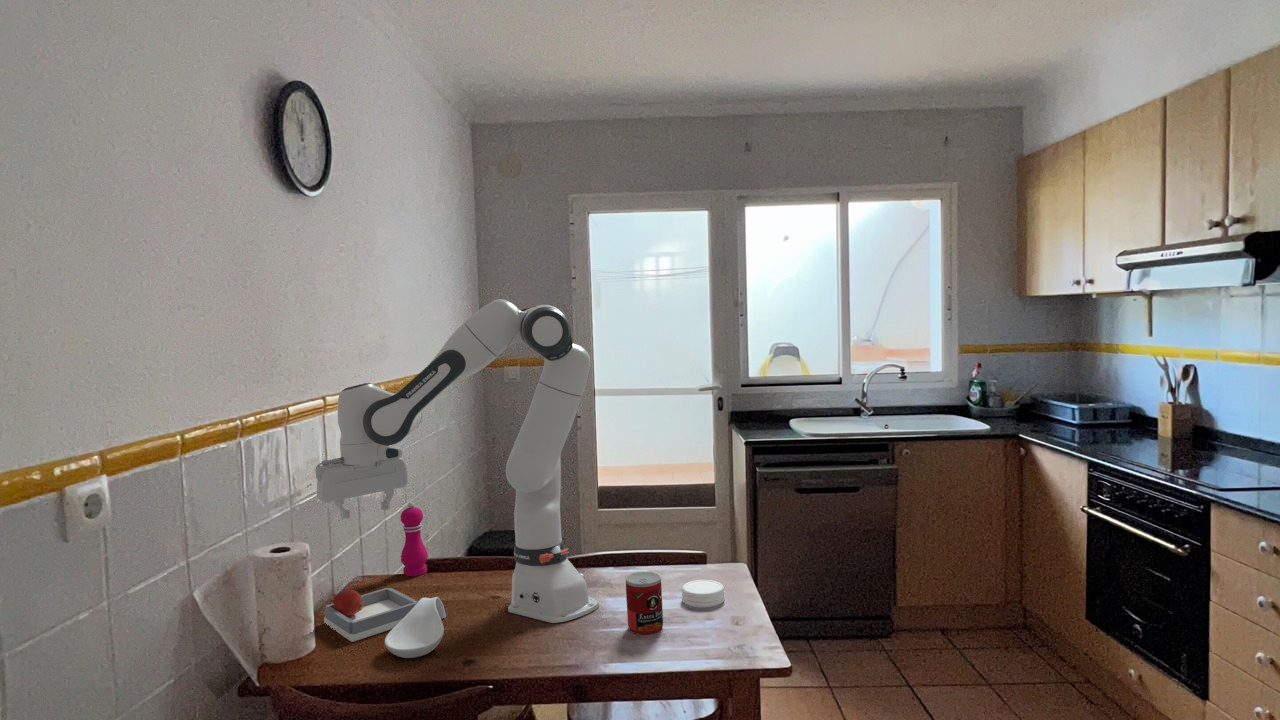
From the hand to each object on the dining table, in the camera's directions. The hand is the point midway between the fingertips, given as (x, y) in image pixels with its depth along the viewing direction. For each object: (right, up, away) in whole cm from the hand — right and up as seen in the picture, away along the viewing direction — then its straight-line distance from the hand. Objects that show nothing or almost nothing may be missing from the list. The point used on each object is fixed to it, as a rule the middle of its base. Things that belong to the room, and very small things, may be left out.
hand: (366, 513), depth 166 cm
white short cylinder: (+78, -22, +4) cm, 81 cm away
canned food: (+65, -23, -11) cm, 69 cm away
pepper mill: (+1, -24, +35) cm, 42 cm away
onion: (-1, -22, 0) cm, 22 cm away
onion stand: (+1, -25, +1) cm, 25 cm away
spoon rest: (+16, -25, -11) cm, 32 cm away
